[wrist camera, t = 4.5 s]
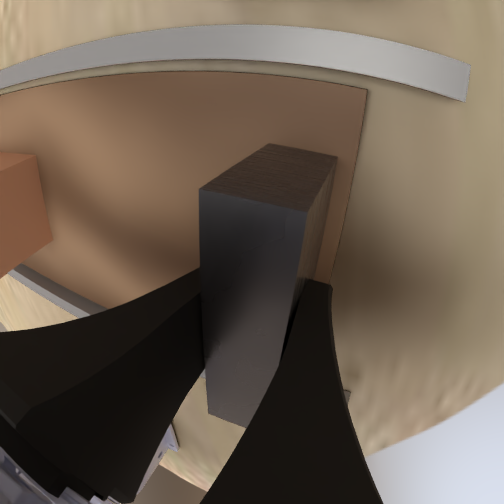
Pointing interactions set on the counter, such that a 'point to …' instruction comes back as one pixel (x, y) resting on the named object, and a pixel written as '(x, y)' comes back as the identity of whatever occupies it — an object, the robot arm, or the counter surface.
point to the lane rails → (238, 48)
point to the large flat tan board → (195, 200)
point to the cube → (21, 210)
